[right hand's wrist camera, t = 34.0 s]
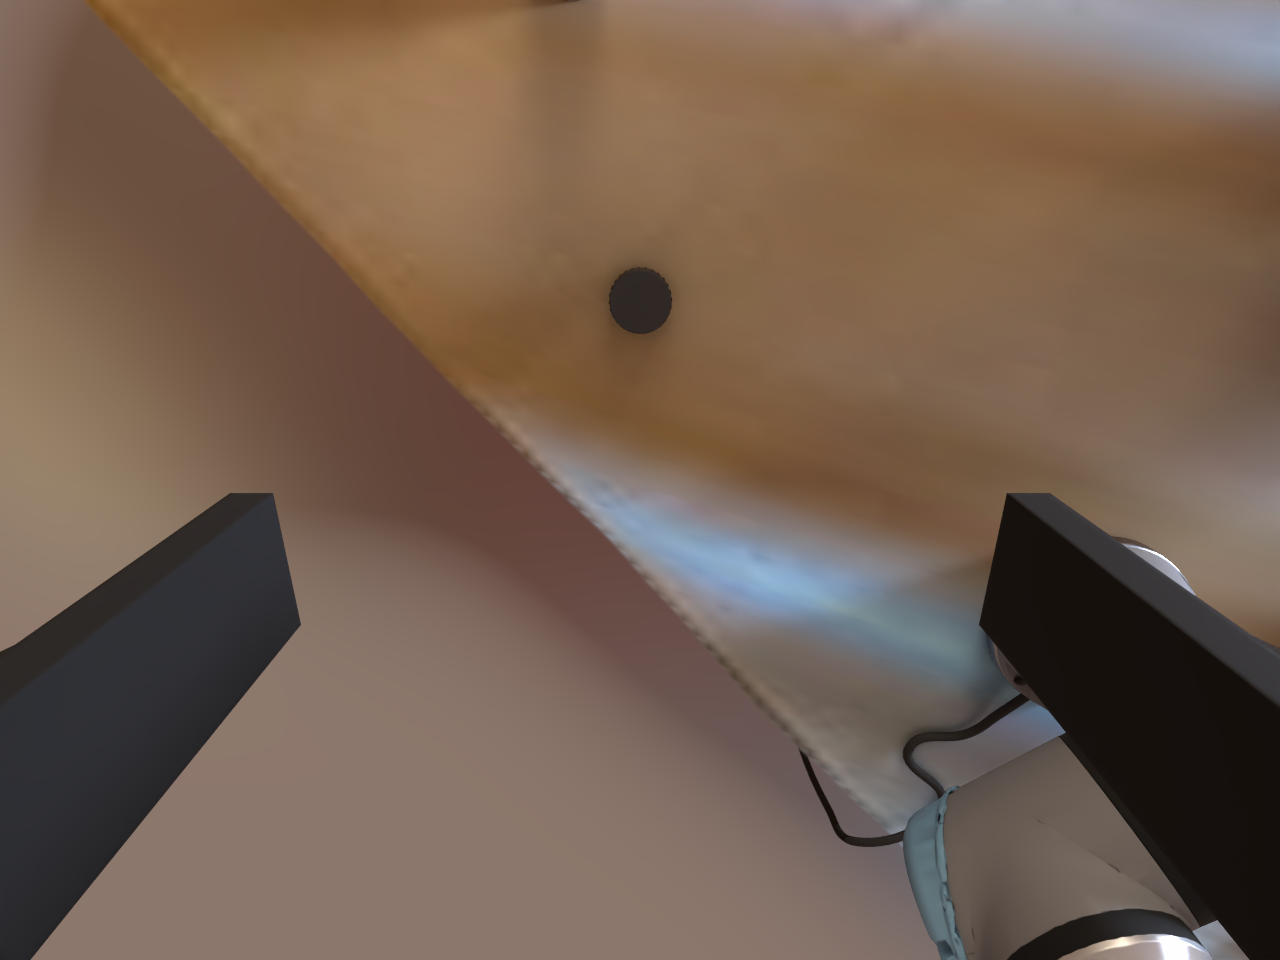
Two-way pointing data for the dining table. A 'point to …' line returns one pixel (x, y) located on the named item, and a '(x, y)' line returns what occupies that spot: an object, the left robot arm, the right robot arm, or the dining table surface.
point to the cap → (640, 300)
